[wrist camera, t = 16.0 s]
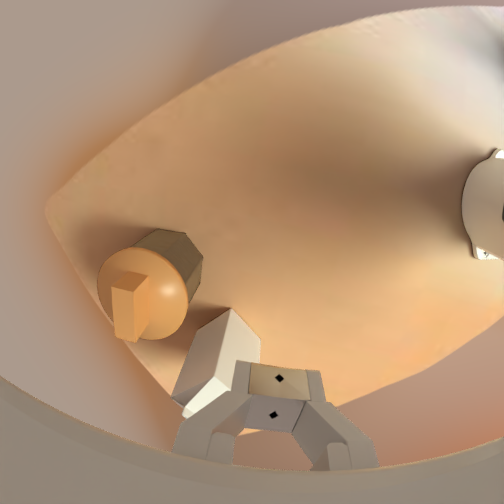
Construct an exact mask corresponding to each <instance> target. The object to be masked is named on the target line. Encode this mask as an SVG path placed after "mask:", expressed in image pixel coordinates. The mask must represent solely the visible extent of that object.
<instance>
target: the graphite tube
mask: <svg viewBox="0 0 504 504" xmlns="http://www.w3.org/2000/svg"><path fill="white" fill-rule="evenodd" d="M131 247H138V248H145V249H148V250H151V251H154V252H156V253H158V254H159V255H161V256H163V257H164V258H165V259H167V260H168V261H169V262H170V263H171V264H172V265H173V266H174V267H175V268H176V269H177V271H178V272H179V274H180V275H181V277H182V279H183V281H184V283H185V286H186V289H187V292H188V305H189V303H190V301H191V299H192V297H193V295H194V293H195V292H196V290H197V288H198V286H199V284H200V278H201V268H202V259H203V256H202V255H201V253H200V252H199V251H198V250H197V248H196V247H195V246H194V244H193V243H192V242H191V240H190V239H189V238H188V237H187V235H186V234H185V233H180V232H174V231H168V230H162V229H156V230H155V231H153V232H152V233H150V234H149V235H147V236H146V237H144V238H143V239H142V240H140V241H139V242H137V243H136V244H134V245H133V246H131ZM131 247H130V248H131Z"/></svg>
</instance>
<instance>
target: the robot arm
mask: <svg viewBox="0 0 504 504" xmlns="http://www.w3.org/2000/svg"><path fill="white" fill-rule="evenodd" d="M462 216H463V222H464V226H465V229H466V231H467V233H468V235H469V237H470V239H471V241H472V248H473V254H474V257H475V258H477V259H479V260H487V259H501V260H503V261H504V151H503V150H501V149H496V150H495V151H494V152H493V154H492V155H491V157H490V158H488V159H487V160H484V161H482V162H480V163H479V164H477V165H476V166H475V167H474V169H473V170H472V171H471V173H470V175H469V176H468V179H467V181H466V184H465V187H464V191H463V197H462ZM484 251H485V252H484ZM244 428H250V429H260V430H270V431H278V432H287V433H292V435H293V437H294V438H295V440H296V441H297V443H298V444H299V445H300V447H301V448H302V449H303V451H304V453H305V454H306V455H307V457H308V458H309V459H310V461H311V462H312V463H313V467H312V468H311V469H310V471H294V470H275V469H264V468H254V467H245V466H238V465H232V461H233V452H234V444H235V437H237V436H238V434H239V433H240V432H241V431H242V430H243V429H244ZM0 504H504V437H501V438H498V439H496V440H493V441H490V442H488V443H485V444H482V445H479V446H476V447H473V448H470V449H466V450H463V451H459V452H456V453H452V454H448V455H445V456H440V457H436V458H432V459H427V460H423V461H418V462H412V463H406V464H400V465H393V466H386V467H380V466H379V463H378V459H377V455H376V451H375V448H374V444H373V441H372V440H371V439H370V438H369V437H368V436H366V435H365V434H364V433H363V432H362V431H361V430H360V429H359V428H357V427H356V426H355V425H354V424H353V423H352V422H351V421H350V420H349V419H348V418H346V417H345V416H344V415H343V414H342V413H341V412H340V411H339V410H338V409H337V408H336V407H335V406H334V405H333V404H332V403H330V402H326V398H325V393H324V388H323V383H322V378H321V373H320V371H317V370H302V369H293V368H284V367H277V366H271V365H265V364H259V363H253V362H251V363H250V362H247V361H241V360H236V364H235V369H234V374H233V380H232V385H231V391H225V392H224V393H223V394H221V395H220V396H219V397H217V398H216V399H214V400H213V401H212V402H210V403H209V404H208V405H206V406H205V407H203V408H202V409H201V410H199V411H198V412H196V413H195V414H193V415H192V416H191V417H189V418H188V419H186V420H185V421H183V422H182V423H181V424H180V427H179V430H178V433H177V436H176V440H175V443H174V446H173V449H172V452H167V451H164V450H161V449H157V448H153V447H150V446H147V445H143V444H141V443H137V442H134V441H131V440H128V439H126V438H123V437H120V436H117V435H115V434H112V433H109V432H107V431H104V430H101V429H99V428H97V427H94V426H92V425H90V424H87V423H85V422H82V421H80V420H78V419H76V418H74V417H72V416H70V415H68V414H65V413H63V412H61V411H59V410H57V409H55V408H54V407H52V406H50V405H48V404H46V403H44V402H42V401H41V400H39V399H37V398H35V397H33V396H32V395H30V394H28V393H26V392H25V391H23V390H21V389H20V388H18V387H17V386H15V385H14V384H12V383H10V382H9V381H7V380H6V379H4V378H3V377H1V376H0Z"/></svg>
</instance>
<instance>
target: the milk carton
mask: <svg viewBox="0 0 504 504" xmlns="http://www.w3.org/2000/svg"><path fill="white" fill-rule="evenodd" d="M260 345H261V339H260V338H259V337H258V336H257V335H256V334H255V333H254V332H253V331H252V330H251V328H250V327H249V326H248V325H247V324H246V323H245V322H244V321H243V320H242V319H241V318H240V317H239V315H238V314H237V313H236V312H235V311H234V310H233V309H232V308H231V309H229V310H228V311H226V312H225V313H223V314H222V315H220V316H219V317H217V318H216V319H214V320H212V321H211V322H209V323H208V324H206V325H205V326H203V327H202V328H200V329H199V330H197V332H196V334H195V337H194V339H193V342H192V344H191V347H190V349H189V352H188V354H187V357H186V359H185V362H184V364H183V367H182V369H181V372H180V374H179V377H178V379H177V382H176V385H175V387H174V390H173V392H172V395H171V399H172V400H174V401H175V402H176V403H177V404H178V405H180V406H181V407H182V408H183V412H182V416H184V417H185V418H186V419H188V418H189V417H191V416H192V415H193V414H195V413H196V412H198V411H199V410H201V409H202V408H203V407H205V406H206V405H208V404H209V403H210V402H212V401H213V400H214V399H216V398H217V397H219V396H220V395H221V394H223V393H224V392H225V391H231V385H232V380H233V374H234V369H235V364H236V360H241V361H247V362H250V363H251V362H253V363H259V361H260Z"/></svg>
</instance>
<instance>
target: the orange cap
mask: <svg viewBox="0 0 504 504" xmlns="http://www.w3.org/2000/svg"><path fill="white" fill-rule="evenodd" d="M97 289H98V295H99V299H100V302H101V304H102V306H103V308H104V310H105V312H106V313H107V315H108V316H109V317H110V319H111V320H112V321H113V322H114V330H115V337H116V338H120V339H123V340H126V341H130V342H133V343H136V341H137V340H138V338H142V339H148V340H157V339H162V338H165V337H168V336H170V335H171V334H173V333H174V332H175V331H176V330H177V329H178V328H179V327H180V326H181V324H182V322H183V320H184V318H185V316H186V313H187V310H188V292H187V289H186V286H185V283H184V281H183V279H182V277H181V275H180V274H179V272H178V271H177V269H176V268H175V267H174V266H173V265H172V264H171V263H170V262H169V261H168V260H167V259H165V258H164V257H163V256H161V255H159V254H158V253H156V252H154V251H151V250H148V249H145V248H138V247H131V248H125V249H123V250H120V251H118V252H116V253H115V254H113V255H112V256H111V257H109V258H108V259H107V260H106V261H105V262H104V264H103V265H102V267H101V269H100V271H99V275H98V280H97Z"/></svg>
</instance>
